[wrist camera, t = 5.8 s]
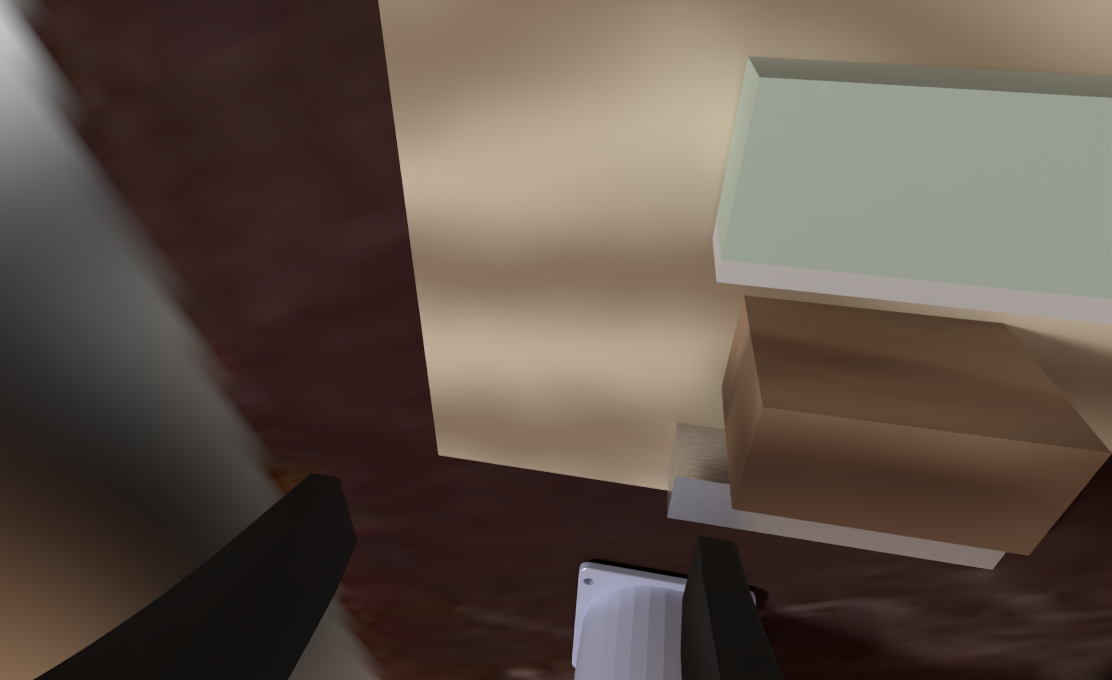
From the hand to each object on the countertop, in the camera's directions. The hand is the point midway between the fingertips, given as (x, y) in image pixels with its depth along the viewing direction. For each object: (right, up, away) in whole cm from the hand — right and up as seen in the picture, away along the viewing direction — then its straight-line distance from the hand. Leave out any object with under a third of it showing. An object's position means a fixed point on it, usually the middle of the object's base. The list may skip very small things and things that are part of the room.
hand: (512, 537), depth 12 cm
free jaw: (+10, +8, +2) cm, 13 cm away
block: (+10, +3, +6) cm, 12 cm away
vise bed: (+7, +5, +6) cm, 11 cm away
